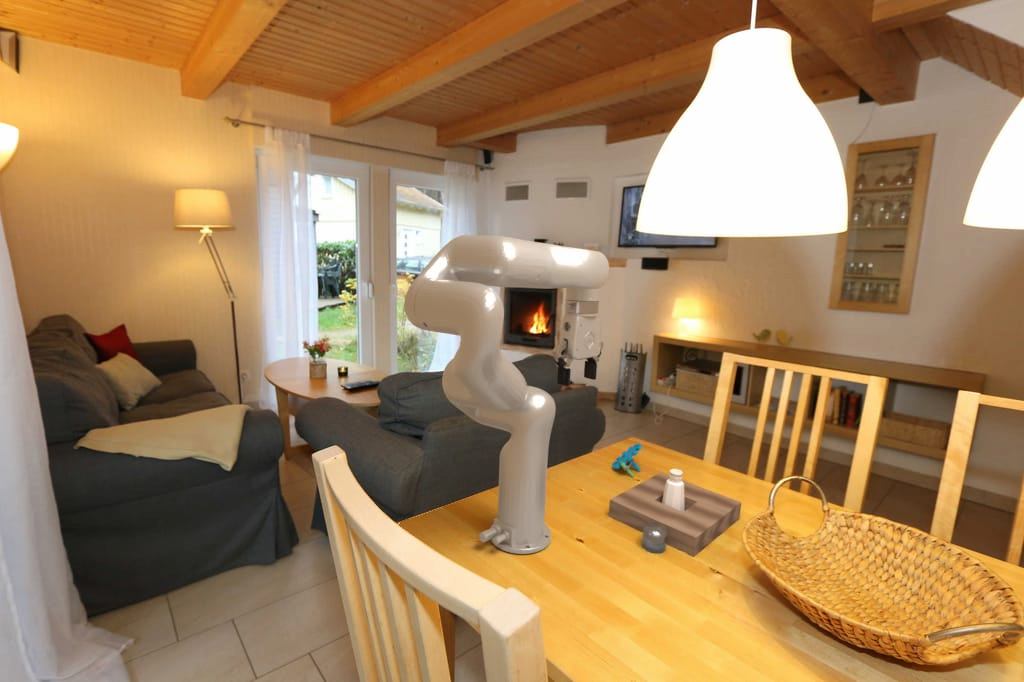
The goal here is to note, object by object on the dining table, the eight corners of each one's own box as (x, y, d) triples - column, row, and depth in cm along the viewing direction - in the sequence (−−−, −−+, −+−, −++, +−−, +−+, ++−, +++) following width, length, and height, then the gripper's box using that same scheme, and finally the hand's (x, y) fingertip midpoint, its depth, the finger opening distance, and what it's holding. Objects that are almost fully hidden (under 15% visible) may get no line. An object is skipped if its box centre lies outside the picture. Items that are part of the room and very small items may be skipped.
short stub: (658, 556, 97) (659, 537, 97) (637, 546, 101) (639, 528, 100) (669, 547, 100) (671, 529, 100) (649, 538, 104) (651, 520, 103)
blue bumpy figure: (616, 453, 144) (642, 436, 138) (630, 469, 143) (656, 452, 138) (605, 472, 134) (632, 454, 129) (619, 489, 134) (648, 472, 128)
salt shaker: (689, 521, 111) (694, 474, 109) (669, 525, 109) (674, 477, 107) (673, 509, 116) (678, 464, 114) (654, 512, 114) (658, 467, 112)
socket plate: (693, 556, 98) (695, 537, 97) (608, 516, 112) (609, 499, 111) (739, 518, 113) (741, 502, 112) (659, 487, 127) (660, 472, 126)
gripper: (570, 311, 104) (565, 391, 107) (617, 308, 116) (612, 379, 119) (543, 308, 110) (539, 383, 113) (591, 304, 122) (587, 373, 125)
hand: (577, 381), depth 116 cm, fingers open, 9 cm apart
